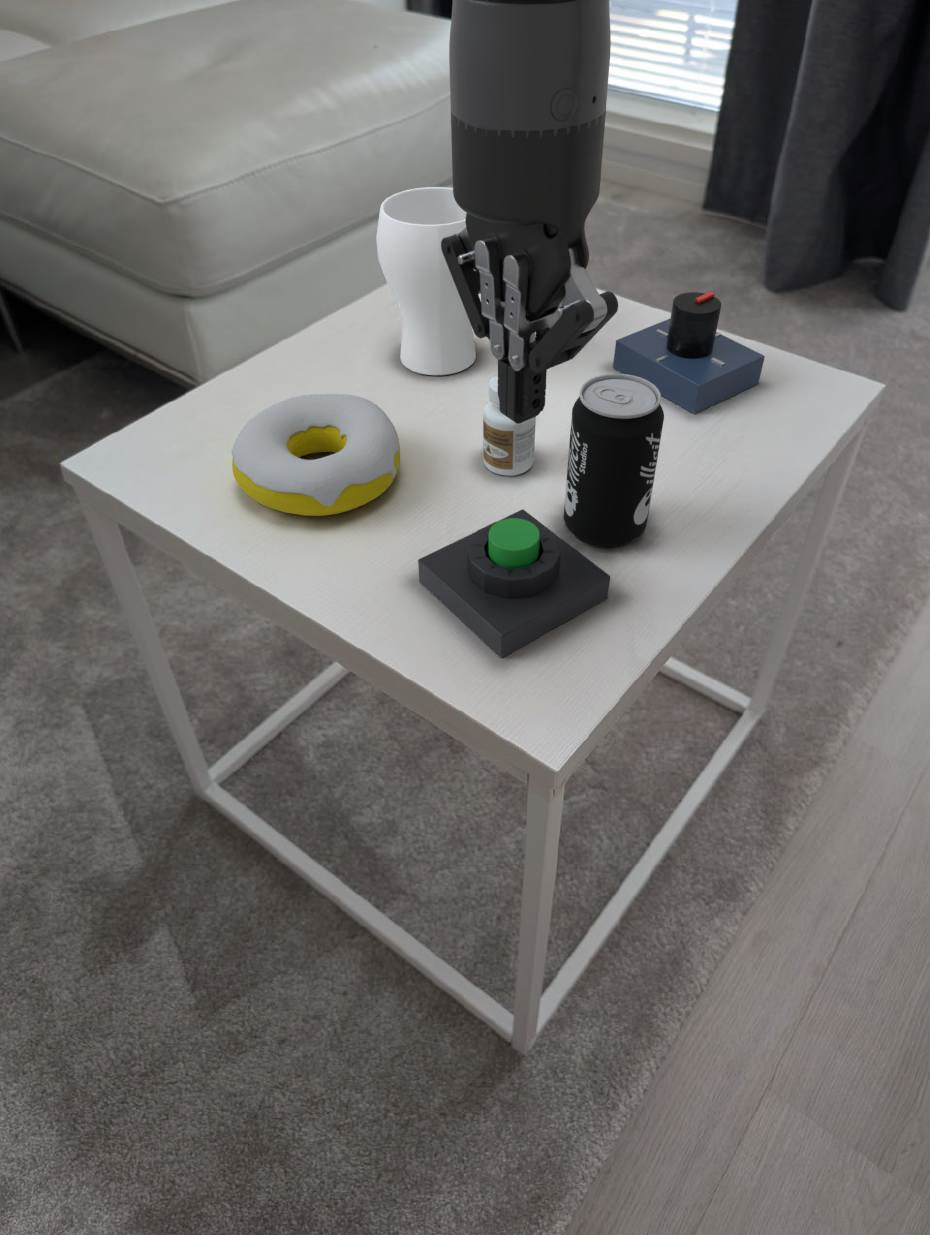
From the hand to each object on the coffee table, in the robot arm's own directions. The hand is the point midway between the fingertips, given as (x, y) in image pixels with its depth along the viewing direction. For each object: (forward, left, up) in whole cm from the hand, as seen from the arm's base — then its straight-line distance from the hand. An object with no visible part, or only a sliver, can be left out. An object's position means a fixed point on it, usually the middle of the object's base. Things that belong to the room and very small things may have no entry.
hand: (520, 414), depth 56 cm
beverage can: (-11, -2, -16) cm, 20 cm away
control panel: (-34, -15, -16) cm, 40 cm away
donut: (+3, -22, -16) cm, 27 cm away
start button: (-1, -1, -12) cm, 12 cm away
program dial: (-34, -15, -13) cm, 39 cm away
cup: (-17, -33, -16) cm, 40 cm away
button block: (-1, -1, -16) cm, 16 cm away
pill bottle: (-11, -14, -16) cm, 24 cm away
